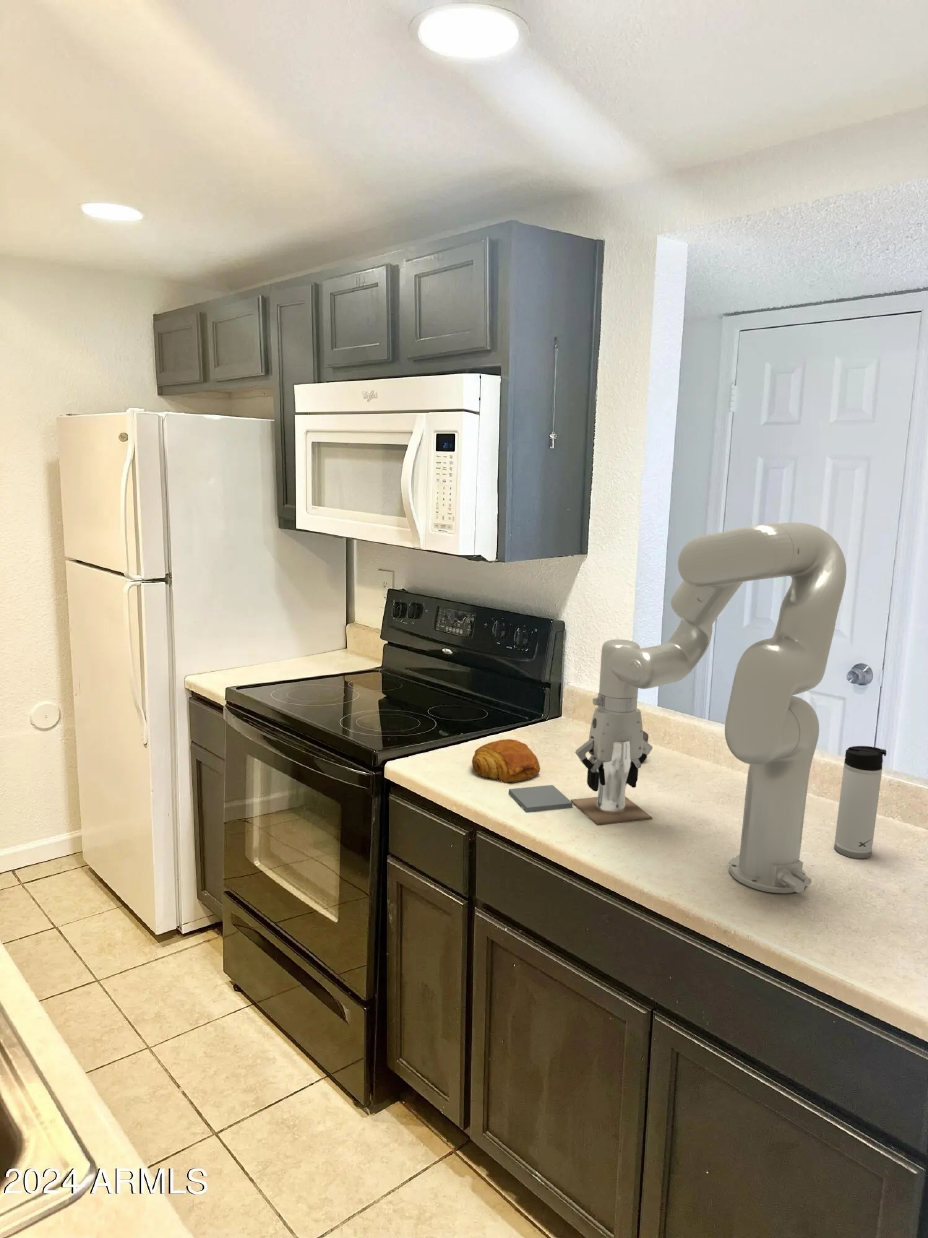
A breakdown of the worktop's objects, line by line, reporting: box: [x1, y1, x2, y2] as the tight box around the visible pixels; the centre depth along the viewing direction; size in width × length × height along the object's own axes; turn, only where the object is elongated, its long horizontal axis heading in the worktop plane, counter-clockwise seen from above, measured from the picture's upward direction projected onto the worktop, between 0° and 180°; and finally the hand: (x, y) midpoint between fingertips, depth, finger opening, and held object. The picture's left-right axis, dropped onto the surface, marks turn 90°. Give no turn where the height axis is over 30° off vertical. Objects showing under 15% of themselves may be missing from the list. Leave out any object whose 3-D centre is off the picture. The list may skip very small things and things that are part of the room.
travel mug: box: [833, 745, 887, 860], centre depth 152 cm, size 6×7×20 cm
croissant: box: [471, 738, 541, 783], centre depth 188 cm, size 14×16×8 cm
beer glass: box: [595, 741, 632, 814], centre depth 168 cm, size 7×7×15 cm
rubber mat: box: [508, 784, 574, 813], centre depth 173 cm, size 10×10×1 cm
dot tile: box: [570, 796, 653, 826], centre depth 169 cm, size 12×12×1 cm
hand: (611, 786), depth 168 cm, fingers open, 7 cm apart
